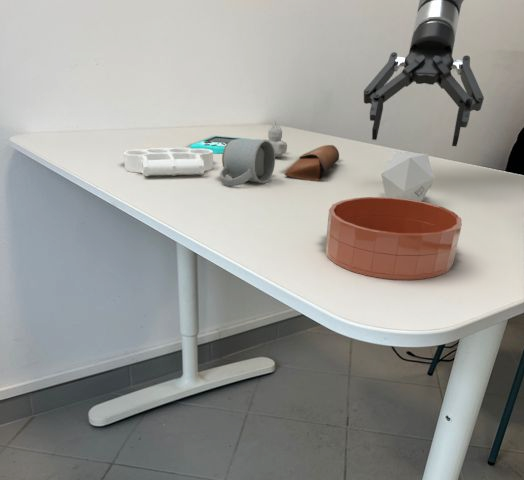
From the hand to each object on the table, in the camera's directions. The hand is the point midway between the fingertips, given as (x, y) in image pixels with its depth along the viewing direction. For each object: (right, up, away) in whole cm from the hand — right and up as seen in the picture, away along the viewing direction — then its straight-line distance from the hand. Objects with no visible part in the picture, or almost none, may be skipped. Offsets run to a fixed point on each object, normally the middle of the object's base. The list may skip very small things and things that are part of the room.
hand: (414, 138), depth 92 cm
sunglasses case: (-15, +1, +21) cm, 26 cm away
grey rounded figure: (-23, +8, +32) cm, 40 cm away
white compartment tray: (-45, 0, +17) cm, 48 cm away
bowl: (-10, -24, -22) cm, 34 cm away
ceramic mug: (-29, -4, +11) cm, 32 cm away
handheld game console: (-36, +14, +41) cm, 57 cm away
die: (-2, -11, +1) cm, 11 cm away
